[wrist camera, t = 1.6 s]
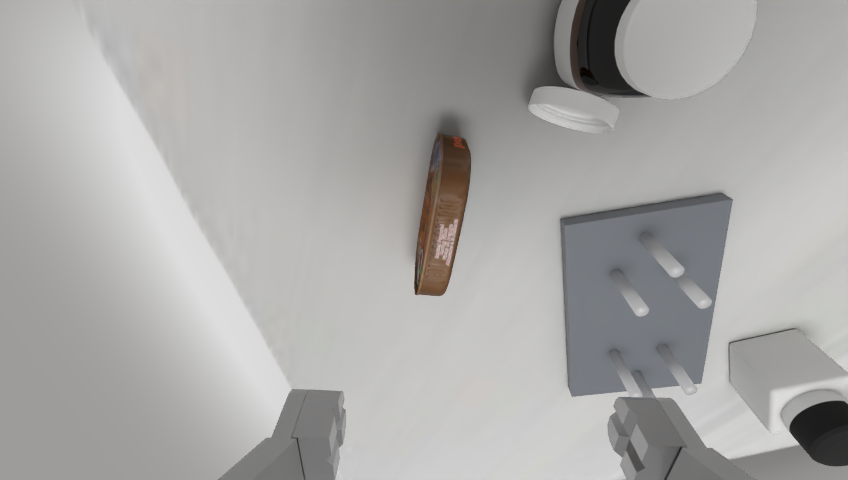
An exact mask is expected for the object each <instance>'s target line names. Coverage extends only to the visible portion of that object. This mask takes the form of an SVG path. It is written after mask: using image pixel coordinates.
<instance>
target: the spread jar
mask: <svg viewBox="0 0 848 480" xmlns="http://www.w3.org/2000/svg"><path fill="white" fill-rule="evenodd" d="M756 16H757V0H562V2H561V4H560V7H559V10H558V14H557V19H556V24H555V32H554V55H555V63H556V68H557V71H558V74H559V76H560V78H561V79H562V80H563V81H564V82H565V83H566V84H567V85H569V86H571V87H574V88H576V89H578V90H575V89H570V88H565V87H556V86H543V87H538V88H536V89H534V91H533V93H532V96H531V99H530V102H529V104H528V110H529V111H530V112H531V113H532V114H534V115H535V116H537V117H539V118H541V119H543V120H545V121H548V122H550V123H553V124H556V125H559V126H562V127H565V128H569V129H573V130H577V131H582V132H589V133H610V132H612V131H613V129H614V127H615V124H616V121H617V119H618V116H619V114H620V112H619V109H618V108H617V107H616V106H615V105H614V104H612V103H610V102H609V101H607V100H605V99H603V98H601V97H598V96H595V95H600V96H609V97H621V98H643V97H655V98H660V99H665V100H667V99H681V98H686V97H690V96H693V95H695V94H698V93H700V92H703V91H704V90H706V89H708V88H709V87H711V86H713V85H714V84H716V83H717V82H718V81H719V80H721V79H722V78H723V77H724V76H725V75H726V74H727V73H728V72H729V71H730V70H731V69H732V68H733V67H734V66H735V65H736V63H737V62H738V60H739V59H740V58H741V56H742V55H743V53H744V52H745V50H746V48H747V46H748V44H749V42H750V40H751V37H752V34H753V31H754V28H755V23H756ZM579 90H581V91H579ZM593 94H594V95H593Z"/></svg>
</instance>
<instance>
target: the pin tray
mask: <svg viewBox="0 0 848 480" xmlns="http://www.w3.org/2000/svg"><path fill="white" fill-rule="evenodd" d="M732 201H733V199H731V198H730V197H728V196H726V195H725V194H723V193H721V194H715V195H709V196H702V197H696V198H690V199H684V200H677V201H671V202H665V203H658V204H652V205H646V206H640V207H633V208H627V209H621V210H615V211H608V212H602V213H596V214H590V215H583V216H577V217H571V218H564V219H561V239H562V260H563V281H564V302H565V323H566V345H567V366H568V387H569V390H570V393H571V396H572V397H573V396H583V395H593V394H603V393H612V392H622V391H627V392H628V394H629V396H630V397H651V398H656V397H655V395H654V394H653V392H652V390H651V388H661V387H671V386H681V388H682V389H683V391H684V392H685V394H687V395H692V394H694V393H696V392H697V387H696V386H695V385H694V384H700V383H701V382H702V376H703V370H704V365H705V359H706V353H707V347H708V341H709V335H710V329H711V324H712V318H713V312H714V306H715V300H716V294H717V288H718V283H719V277H720V271H721V265H722V259H723V253H724V247H725V242H726V236H727V230H728V224H729V218H730V212H731V206H732Z"/></svg>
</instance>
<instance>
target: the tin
mask: <svg viewBox="0 0 848 480" xmlns="http://www.w3.org/2000/svg"><path fill="white" fill-rule="evenodd" d="M470 172H471V154H470V150H469V148H468V145H467V142H466V140H465V139H464V138H460V137H454V136H446V135H442V134H441V133H439V134H438V135H437V137H436V140H435V143H434V147H433V151H432V156H431V162H430V167H429V173H428V179H427V186H426V192H425V198H424V204H423V210H422V216H421V222H420V228H419V235H418V243H417V251H416V262H415V281H414V286H415V287H414V289H415V295H419V294H421V295H431V296H441V295H443V294H444V293H445V291H446V289H447V287H448V284H449V280H450V276H451V272H452V268H453V263H454V259H455V254H456V250H457V245H458V241H459V236H460V232H461V227H462V222H463V217H464V212H465V207H466V202H467V197H468V190H469V183H470Z"/></svg>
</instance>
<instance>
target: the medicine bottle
mask: <svg viewBox="0 0 848 480" xmlns="http://www.w3.org/2000/svg"><path fill="white" fill-rule="evenodd" d="M729 352H730V383H731V385H732V386H733V388H734V389H735V390H736V391H737V393H738V394H739V395H740V396H741V398H742V399H743V400H744V401H745V403H746V404H747V405H748V406H749V408H750V409H751V410H752V411H753V413H754V414H755V415H756V416H757V418H758V419H759V420H760V421H761V423H762V424H763V425H764V426H765V428H766V429H767V430H768V431H769V432H770V433H772V434H775V433H781V432H787V431H789V432H790V433H791V434H792V435H793V437H794V438H795V439H796V440H797V441H798V443H799V444H800V445H801V446H802V447H803V448H804V450H806V452H807V453H808V454H809V455H810V457H812V459H813V460H815V461H816V462H819V463H821V464H824V465H829V466H846V465H848V372H847V371H845V370H844V369H843V368H842V367H841V366H840V365H838V364H837V363H836V362H835V361H834V360H833V359H831V358H830V357H829V356H828V355H827V354H826V353H824V352H823V351H822V350H821V349H820V348H819V347H817V346H816V345H815V344H814V343H813V342H812V341H810V340H809V339H808V338H807V337H806V336H805V335H803V334H802V333H801V332H800V331H799V330H797V329H793V330H788V331H783V332H779V333H774V334H770V335H765V336H760V337H756V338H751V339H747V340H742V341H737V342H733V343H730V345H729Z"/></svg>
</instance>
